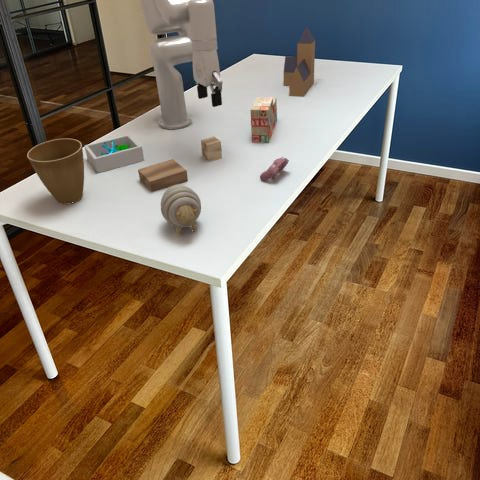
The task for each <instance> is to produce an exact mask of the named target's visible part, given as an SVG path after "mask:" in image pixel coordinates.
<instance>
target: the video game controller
mask: <svg viewBox="0 0 480 480" xmlns="http://www.w3.org/2000/svg"><path fill="white" fill-rule="evenodd" d="M289 161H290V160H289V159H287V158H286V157H283V156H281V157H279V158H276V159H275V160H274V161H273V162H272V164H271V165H270V166H269V167H268V169H267V170H265V171H264V172H262V173H261V174H260V175H259V179H260V180H261V181H264V182H266V181H269V180H271V179H272V180H274V179H276V178H277V176H279V175H280V174H282V173H283V171H284V169H285V168H286V167H287V165H289V164H288V163H289Z"/></svg>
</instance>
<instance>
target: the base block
mask: <svg viewBox="0 0 480 480" xmlns="http://www.w3.org/2000/svg"><path fill="white" fill-rule="evenodd" d="M137 172H138V179H139V181H140V182H141V183H142V184H143V185H144V186H145V187H146V188H147V189H148V190H149V191H150V192H151V193H156V192H158V191H162V190H164V189H168V188H169V187H171V186H174V185H181V184H182V183H186V182H188V181H189V179H188V178H189V176H188V171H187V169H186V168H184V167H183V166H182V165H181V164H179V163H178V162H177V161H176V160H175V159H174V158H173V159H168V160H165V161H162V162H159V163H155V164H151V165H149V166H145V167H141V168H139V169H137Z"/></svg>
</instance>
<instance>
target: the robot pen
mask: <svg viewBox="0 0 480 480" xmlns="http://www.w3.org/2000/svg"><path fill="white" fill-rule="evenodd" d="M111 141H113V143H114V148H115V147H116V146H117V145H118V146H121V145H127V146H129V147H130V149H126V150H122V151H119V152H115V153H111V154H107V155H101V153H109V152H108V150H107V149H106V148H104V147H102V146H103V145H104V143H105V142H106V143H105V144H106V145H107V147H108V148H110V149H112V143H111ZM104 146H105V145H104ZM83 147H84V151H85V153H86V154H85V155H86V159H87V161H88V162H89V163H90V165H91V166H92V167H93V169H94V170H95V171H96V173H97V174H100V173H104V172H107V171H111V170H115V169H118V168H121V167H126V166H129V165H133V164H137V163H140V162H143V161H145V157H144V152H143V151H144V150H143V147H142V145H141V144H140V143H138V141H137V140H136V139H135V138H133V137H132V135H130V134H125V135H120V136H116V137H113V138H109V139H105V140H101V141H98V142H92V143H90V144H85V145H84V146H83Z"/></svg>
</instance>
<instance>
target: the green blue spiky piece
mask: <svg viewBox="0 0 480 480" xmlns="http://www.w3.org/2000/svg"><path fill="white" fill-rule="evenodd" d="M105 143H106V142H105ZM105 143H104V145H105V146H104V145H103V146H102V147H104V148H106V149H107V150H108V152H109V153H101V155H107V154H111V153H115V152H119V151H122V150H126V149H130V147H129V146H127V145H121V146H118V145H117V146H116V147H115V148H114V143H113V141H111V143H112V149H110V148H108V147H107V145H106V144H105Z"/></svg>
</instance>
